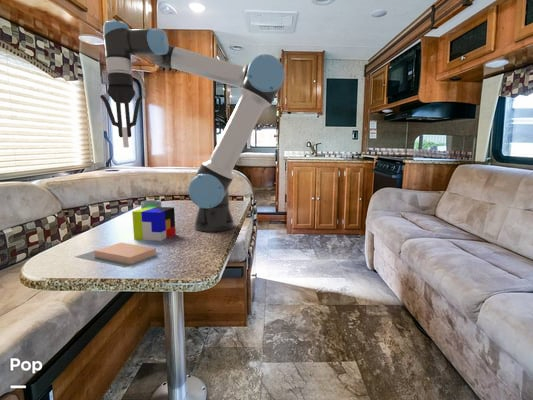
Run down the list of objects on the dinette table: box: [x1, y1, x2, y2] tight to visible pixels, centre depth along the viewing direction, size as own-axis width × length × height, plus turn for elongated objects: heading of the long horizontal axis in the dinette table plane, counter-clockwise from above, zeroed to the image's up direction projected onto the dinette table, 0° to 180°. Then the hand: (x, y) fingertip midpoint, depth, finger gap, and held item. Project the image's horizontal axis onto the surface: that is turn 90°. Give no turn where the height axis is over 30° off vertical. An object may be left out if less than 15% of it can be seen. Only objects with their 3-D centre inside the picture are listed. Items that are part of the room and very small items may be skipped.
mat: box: [74, 250, 163, 268], centre depth 94 cm, size 20×13×1 cm, turn 64°
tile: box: [93, 242, 157, 266], centre depth 93 cm, size 2×9×14 cm
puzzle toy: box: [132, 206, 177, 242], centre depth 114 cm, size 10×10×10 cm
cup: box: [140, 199, 163, 209], centre depth 132 cm, size 8×8×10 cm
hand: (126, 147), depth 111 cm, fingers closed
